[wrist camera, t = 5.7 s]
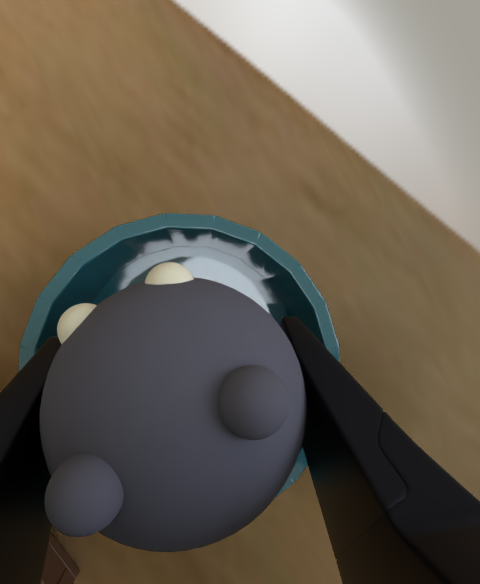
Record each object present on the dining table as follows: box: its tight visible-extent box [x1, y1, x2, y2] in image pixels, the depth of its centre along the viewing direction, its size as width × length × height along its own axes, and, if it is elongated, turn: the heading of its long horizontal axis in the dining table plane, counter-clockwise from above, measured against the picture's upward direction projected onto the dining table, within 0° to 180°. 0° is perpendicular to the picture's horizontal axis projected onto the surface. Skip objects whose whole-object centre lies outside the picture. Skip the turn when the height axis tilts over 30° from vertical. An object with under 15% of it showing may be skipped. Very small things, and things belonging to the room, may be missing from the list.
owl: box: [40, 262, 306, 552], centre depth 11 cm, size 6×6×11 cm
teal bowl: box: [19, 213, 339, 497], centre depth 14 cm, size 10×10×5 cm
